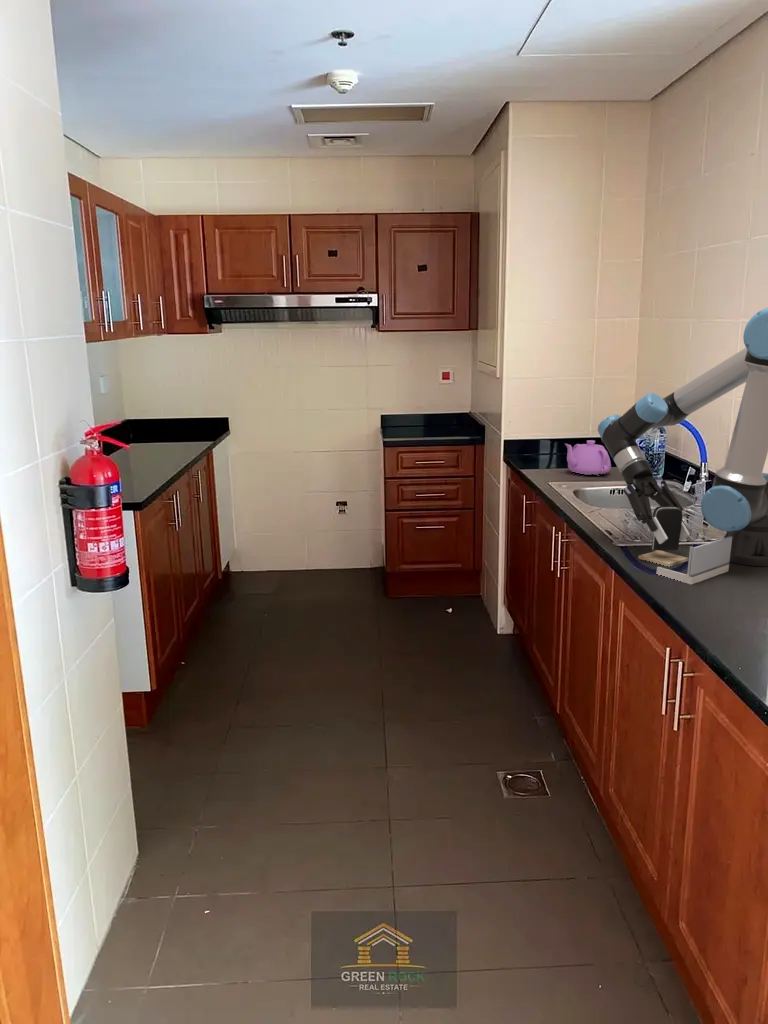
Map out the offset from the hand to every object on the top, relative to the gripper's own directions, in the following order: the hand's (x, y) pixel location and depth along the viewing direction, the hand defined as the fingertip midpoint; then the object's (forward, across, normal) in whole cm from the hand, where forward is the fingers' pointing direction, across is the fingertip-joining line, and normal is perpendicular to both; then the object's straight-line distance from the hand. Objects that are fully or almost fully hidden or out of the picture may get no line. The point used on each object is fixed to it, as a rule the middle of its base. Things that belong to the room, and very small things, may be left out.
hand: (674, 539), depth 198 cm
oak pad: (+2, 0, -7) cm, 7 cm away
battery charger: (0, 0, -5) cm, 5 cm away
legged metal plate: (+10, +2, +1) cm, 11 cm away
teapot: (-68, -63, -78) cm, 122 cm away
